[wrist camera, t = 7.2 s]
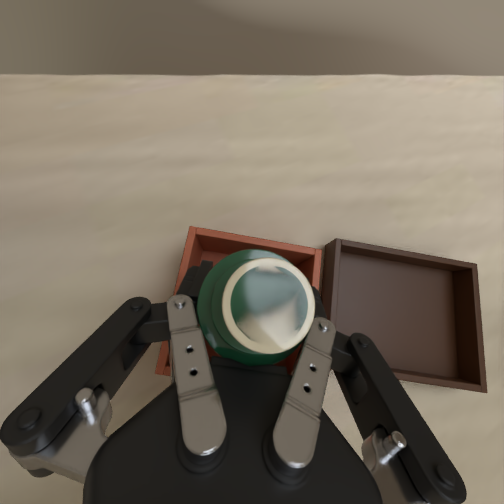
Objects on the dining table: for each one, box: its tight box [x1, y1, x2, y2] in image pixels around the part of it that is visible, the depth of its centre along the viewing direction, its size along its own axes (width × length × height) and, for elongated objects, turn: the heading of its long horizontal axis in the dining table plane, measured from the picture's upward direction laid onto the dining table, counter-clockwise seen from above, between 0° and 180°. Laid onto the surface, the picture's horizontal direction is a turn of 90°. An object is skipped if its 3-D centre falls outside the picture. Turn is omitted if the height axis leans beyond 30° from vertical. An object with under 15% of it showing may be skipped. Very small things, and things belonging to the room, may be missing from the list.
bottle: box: [197, 249, 315, 366], centre depth 15 cm, size 6×6×16 cm
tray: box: [321, 238, 487, 393], centre depth 24 cm, size 15×12×3 cm
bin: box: [155, 226, 322, 376], centre depth 21 cm, size 11×11×6 cm
